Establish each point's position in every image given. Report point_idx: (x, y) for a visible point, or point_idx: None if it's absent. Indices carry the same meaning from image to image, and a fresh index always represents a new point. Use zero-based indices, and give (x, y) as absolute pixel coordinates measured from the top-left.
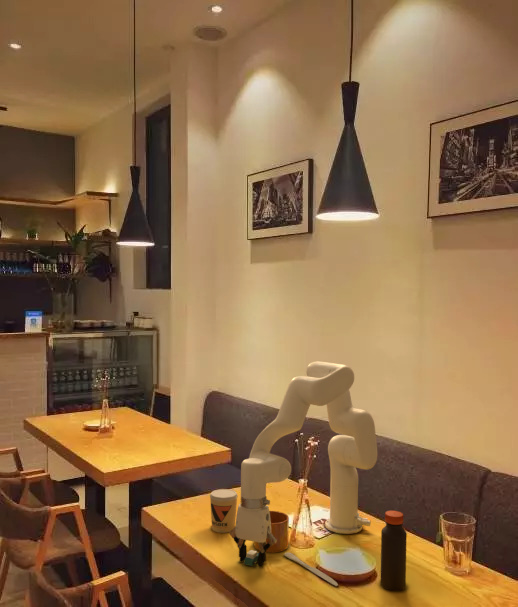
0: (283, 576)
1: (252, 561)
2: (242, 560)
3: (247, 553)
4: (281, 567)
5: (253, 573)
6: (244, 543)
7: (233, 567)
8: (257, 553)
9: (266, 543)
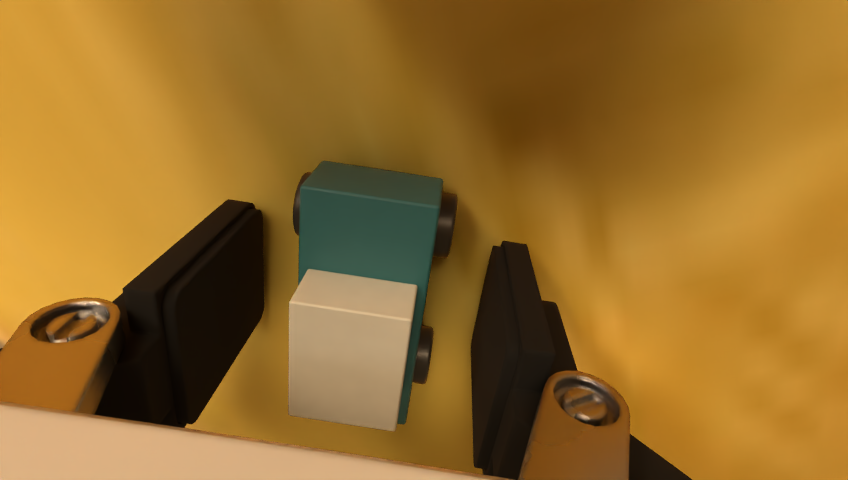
0: (768, 442)
1: (407, 412)
2: (260, 314)
3: (298, 412)
4: (753, 280)
5: (459, 448)
6: (123, 368)
7: (234, 394)
8: (403, 231)
9: (626, 477)
